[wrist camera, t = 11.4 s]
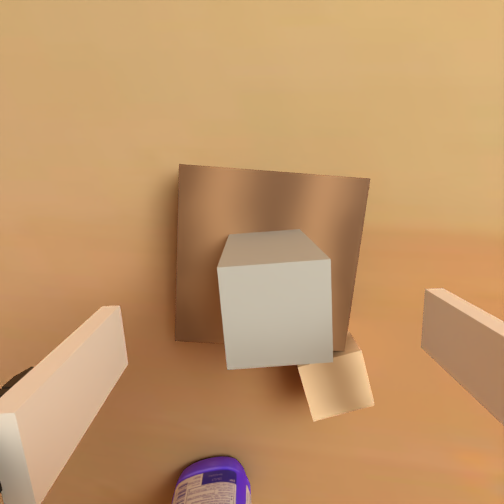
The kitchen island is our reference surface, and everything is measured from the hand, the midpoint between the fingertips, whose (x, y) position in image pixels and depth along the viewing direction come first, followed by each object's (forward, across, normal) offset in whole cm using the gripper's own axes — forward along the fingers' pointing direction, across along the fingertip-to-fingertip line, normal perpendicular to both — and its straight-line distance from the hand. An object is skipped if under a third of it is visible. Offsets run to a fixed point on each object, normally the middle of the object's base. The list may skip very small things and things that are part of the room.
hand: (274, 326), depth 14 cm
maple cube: (+14, +6, -10) cm, 18 cm away
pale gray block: (+10, 0, 0) cm, 10 cm away
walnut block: (+15, 0, 0) cm, 15 cm away
